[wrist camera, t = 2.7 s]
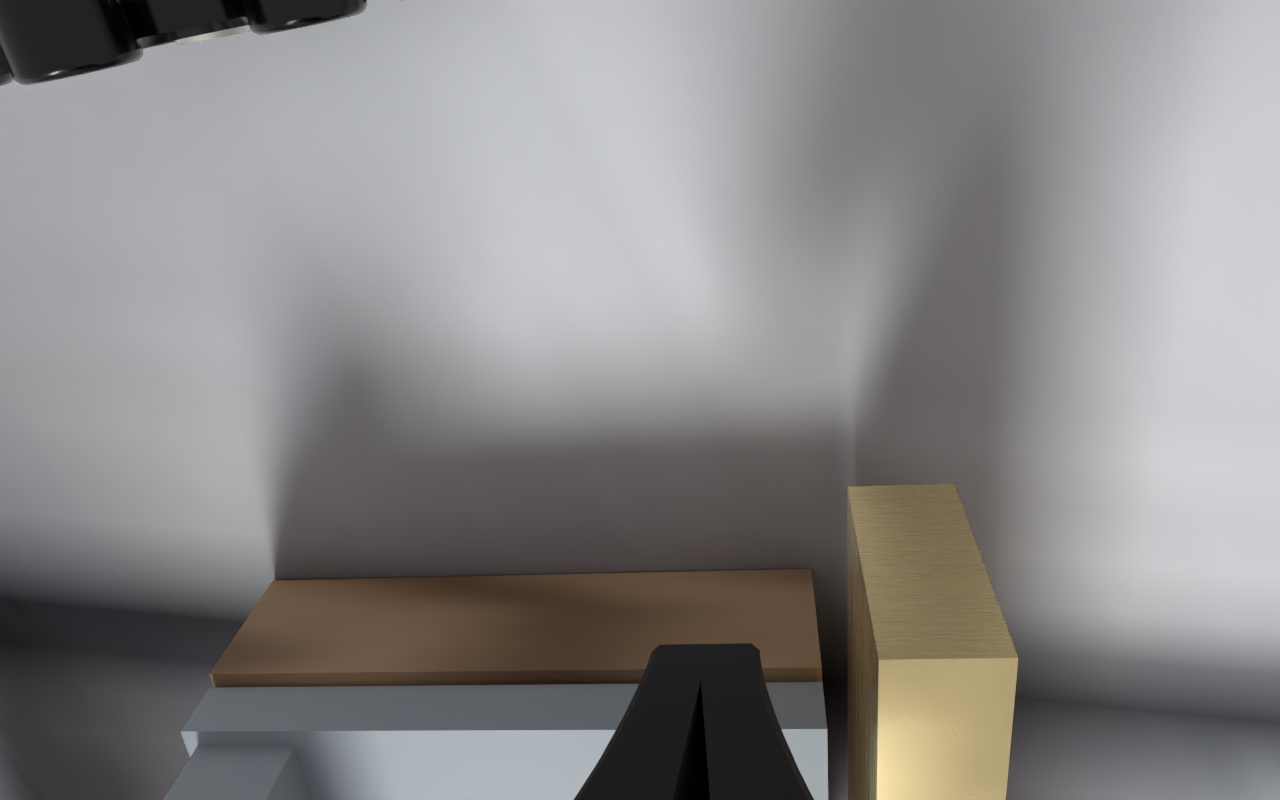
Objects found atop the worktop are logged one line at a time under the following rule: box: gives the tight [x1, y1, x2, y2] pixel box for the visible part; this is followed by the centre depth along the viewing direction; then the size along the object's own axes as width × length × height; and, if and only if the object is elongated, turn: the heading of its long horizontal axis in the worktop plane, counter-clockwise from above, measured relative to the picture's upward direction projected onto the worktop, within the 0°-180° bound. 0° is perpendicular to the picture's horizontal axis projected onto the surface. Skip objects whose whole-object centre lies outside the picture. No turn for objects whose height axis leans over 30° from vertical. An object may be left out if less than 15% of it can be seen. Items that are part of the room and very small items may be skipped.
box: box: [210, 569, 822, 688], centre depth 19 cm, size 10×7×3 cm
